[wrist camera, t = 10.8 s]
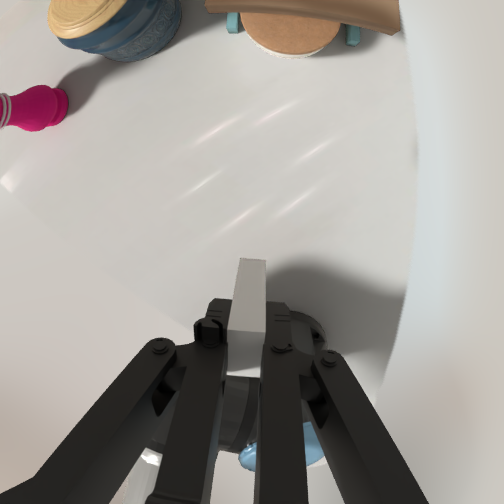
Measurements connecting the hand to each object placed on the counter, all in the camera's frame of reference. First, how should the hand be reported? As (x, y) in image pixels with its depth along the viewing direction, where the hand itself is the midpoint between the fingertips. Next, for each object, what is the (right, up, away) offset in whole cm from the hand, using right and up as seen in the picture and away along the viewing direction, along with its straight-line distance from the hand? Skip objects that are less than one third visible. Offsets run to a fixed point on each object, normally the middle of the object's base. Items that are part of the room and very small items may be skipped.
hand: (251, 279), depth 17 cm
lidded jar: (+4, +30, +11) cm, 32 cm away
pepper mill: (-31, +25, +16) cm, 43 cm away
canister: (-16, +33, +11) cm, 38 cm away
